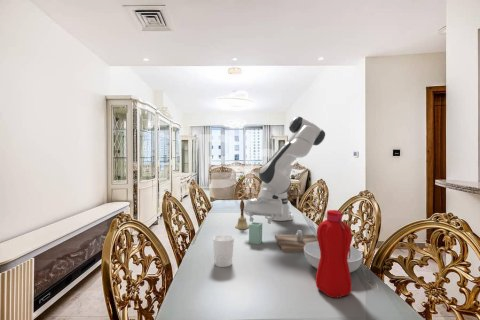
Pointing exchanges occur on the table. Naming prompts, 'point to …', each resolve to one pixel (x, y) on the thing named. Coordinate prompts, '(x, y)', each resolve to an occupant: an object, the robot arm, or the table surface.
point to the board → (294, 242)
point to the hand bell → (242, 218)
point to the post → (299, 236)
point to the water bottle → (334, 255)
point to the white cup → (223, 250)
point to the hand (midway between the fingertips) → (260, 222)
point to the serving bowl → (314, 256)
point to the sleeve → (255, 233)
